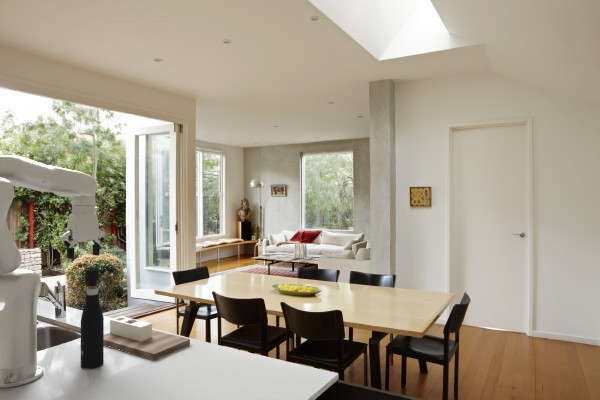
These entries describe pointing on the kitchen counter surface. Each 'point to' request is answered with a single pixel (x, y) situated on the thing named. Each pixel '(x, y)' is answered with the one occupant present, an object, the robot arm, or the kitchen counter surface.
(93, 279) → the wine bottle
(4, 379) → the robot arm
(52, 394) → the kitchen counter surface
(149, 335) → the flange bar
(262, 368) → the kitchen counter surface
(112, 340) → the board
